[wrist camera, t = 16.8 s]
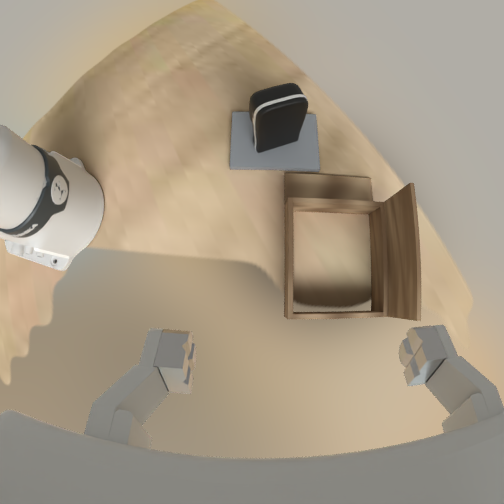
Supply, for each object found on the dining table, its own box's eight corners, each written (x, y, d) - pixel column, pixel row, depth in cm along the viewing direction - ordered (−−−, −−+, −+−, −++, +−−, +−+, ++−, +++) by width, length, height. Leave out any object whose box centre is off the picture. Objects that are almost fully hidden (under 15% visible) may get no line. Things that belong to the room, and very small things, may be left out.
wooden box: (284, 316, 42) (296, 325, 29) (284, 174, 44) (294, 132, 32) (378, 314, 41) (420, 320, 29) (372, 179, 44) (407, 144, 32)
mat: (230, 169, 44) (229, 166, 43) (232, 115, 46) (232, 111, 45) (318, 171, 44) (319, 169, 43) (314, 117, 46) (315, 114, 45)
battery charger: (289, 121, 44) (298, 75, 33) (300, 141, 44) (312, 97, 33) (246, 134, 44) (244, 89, 33) (256, 155, 44) (256, 113, 32)
